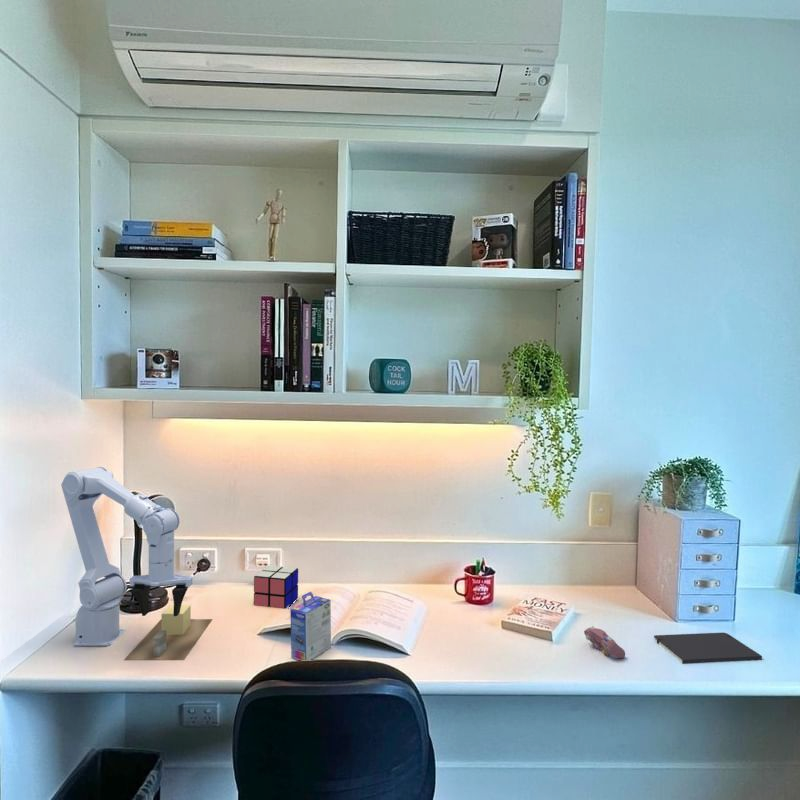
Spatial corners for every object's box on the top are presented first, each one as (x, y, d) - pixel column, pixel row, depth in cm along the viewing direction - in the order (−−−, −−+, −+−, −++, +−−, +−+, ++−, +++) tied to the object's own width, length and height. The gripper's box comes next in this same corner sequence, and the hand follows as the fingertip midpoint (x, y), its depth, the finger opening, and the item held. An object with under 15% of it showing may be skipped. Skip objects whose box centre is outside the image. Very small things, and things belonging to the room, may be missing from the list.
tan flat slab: (123, 664, 128) (123, 641, 128) (161, 622, 150) (161, 603, 150) (184, 664, 129) (184, 641, 128) (212, 622, 151) (212, 603, 150)
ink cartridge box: (315, 641, 141) (315, 586, 141) (332, 646, 139) (332, 590, 138) (288, 657, 133) (289, 599, 132) (306, 664, 130) (307, 604, 130)
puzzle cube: (285, 613, 158) (285, 579, 158) (253, 609, 160) (253, 576, 160) (298, 599, 168) (298, 567, 168) (268, 596, 170) (268, 564, 170)
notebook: (682, 665, 133) (761, 662, 136) (682, 659, 133) (762, 655, 136) (652, 641, 146) (725, 637, 148) (652, 635, 146) (725, 632, 148)
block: (161, 634, 141) (161, 613, 141) (169, 625, 146) (169, 605, 146) (183, 634, 141) (183, 613, 141) (190, 625, 147) (190, 605, 146)
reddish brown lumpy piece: (587, 649, 143) (578, 627, 141) (600, 639, 144) (591, 617, 143) (615, 668, 134) (605, 644, 132) (628, 656, 135) (619, 634, 134)
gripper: (123, 564, 130) (123, 621, 130) (185, 565, 130) (184, 621, 131) (137, 555, 137) (136, 608, 137) (195, 556, 137) (195, 609, 138)
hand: (161, 614), depth 134 cm, fingers open, 7 cm apart
